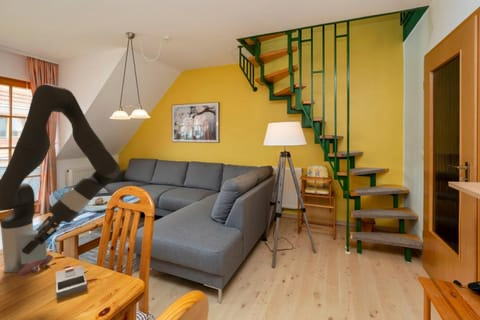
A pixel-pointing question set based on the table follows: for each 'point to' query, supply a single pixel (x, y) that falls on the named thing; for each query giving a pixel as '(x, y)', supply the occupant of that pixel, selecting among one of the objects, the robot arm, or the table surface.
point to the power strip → (70, 281)
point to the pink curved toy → (35, 265)
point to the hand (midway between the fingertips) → (25, 249)
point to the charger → (37, 253)
